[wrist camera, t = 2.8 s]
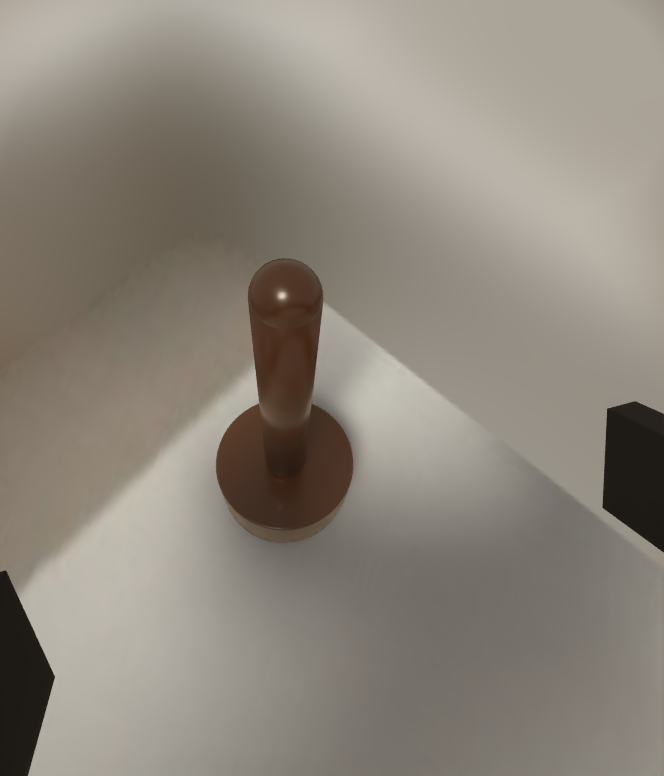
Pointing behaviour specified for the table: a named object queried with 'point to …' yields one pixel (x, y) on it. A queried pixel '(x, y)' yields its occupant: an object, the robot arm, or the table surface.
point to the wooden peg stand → (284, 417)
